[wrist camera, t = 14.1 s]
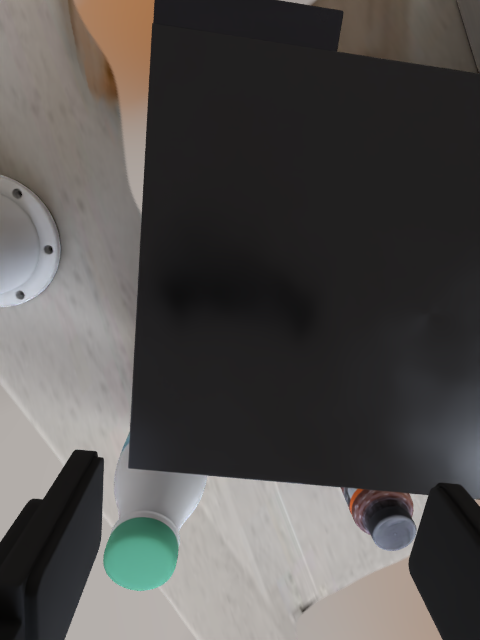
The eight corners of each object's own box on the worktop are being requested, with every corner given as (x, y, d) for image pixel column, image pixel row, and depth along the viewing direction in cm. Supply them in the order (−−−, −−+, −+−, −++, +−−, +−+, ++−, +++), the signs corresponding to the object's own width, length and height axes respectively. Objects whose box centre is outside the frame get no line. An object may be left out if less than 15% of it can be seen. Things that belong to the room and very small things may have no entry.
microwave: (195, 92, 35) (155, -47, 16) (515, 139, 37) (828, 65, 18) (174, 348, 42) (127, 468, 22) (446, 377, 43) (618, 512, 24)
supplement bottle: (320, 453, 46) (348, 530, 35) (362, 424, 45) (405, 494, 34) (349, 486, 47) (385, 570, 36) (390, 459, 46) (440, 537, 35)
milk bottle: (216, 435, 45) (207, 607, 25) (148, 441, 45) (88, 617, 25) (209, 373, 43) (193, 509, 23) (138, 379, 43) (63, 520, 23)
